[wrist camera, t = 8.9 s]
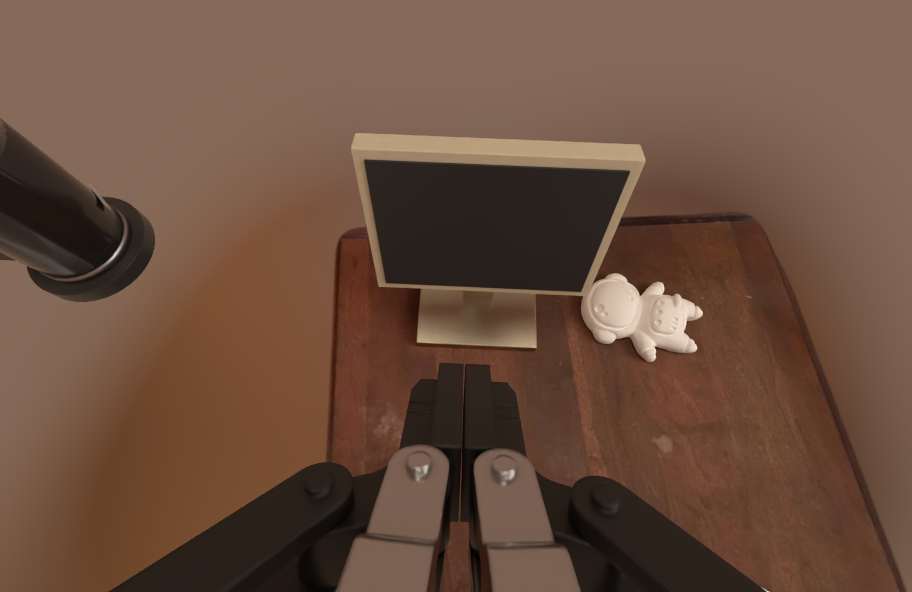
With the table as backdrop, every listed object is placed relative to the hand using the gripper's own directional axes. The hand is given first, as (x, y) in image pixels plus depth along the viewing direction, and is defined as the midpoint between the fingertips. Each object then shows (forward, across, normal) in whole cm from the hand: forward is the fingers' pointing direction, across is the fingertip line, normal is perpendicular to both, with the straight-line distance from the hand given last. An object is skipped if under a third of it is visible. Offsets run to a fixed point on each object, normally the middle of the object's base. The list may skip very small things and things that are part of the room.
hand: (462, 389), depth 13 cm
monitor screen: (+23, -2, +5) cm, 23 cm away
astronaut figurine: (+31, -19, +12) cm, 38 cm away
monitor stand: (+31, -2, +11) cm, 33 cm away
